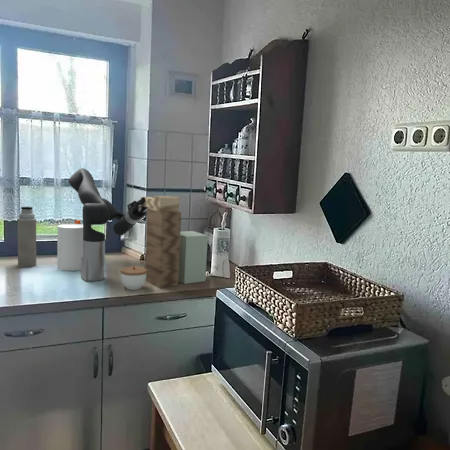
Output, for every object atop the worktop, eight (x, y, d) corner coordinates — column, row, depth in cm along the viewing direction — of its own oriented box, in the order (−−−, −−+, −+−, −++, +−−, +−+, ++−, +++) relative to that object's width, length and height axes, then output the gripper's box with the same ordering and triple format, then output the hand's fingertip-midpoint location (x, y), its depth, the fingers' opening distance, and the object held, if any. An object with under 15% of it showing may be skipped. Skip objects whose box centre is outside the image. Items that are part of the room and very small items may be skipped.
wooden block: (178, 211, 191) (179, 197, 190) (159, 211, 186) (160, 197, 185) (153, 205, 210) (154, 192, 209) (135, 205, 205) (136, 192, 204)
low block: (184, 283, 197) (186, 236, 194) (170, 276, 208) (172, 232, 205) (205, 281, 204) (207, 235, 201) (190, 274, 214) (192, 230, 211)
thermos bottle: (29, 262, 219) (29, 205, 216) (39, 265, 215) (39, 207, 211) (14, 265, 213) (13, 206, 209) (24, 268, 209) (24, 208, 205)
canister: (86, 270, 211) (86, 228, 208) (55, 270, 207) (55, 227, 205) (87, 263, 224) (88, 224, 221) (59, 263, 220) (59, 223, 218)
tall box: (159, 288, 189) (162, 212, 184) (144, 279, 200) (147, 208, 195) (178, 285, 194) (181, 212, 189) (163, 277, 205) (165, 208, 201)
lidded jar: (114, 287, 186) (115, 265, 185) (135, 282, 195) (135, 261, 193) (131, 293, 180) (131, 270, 178) (151, 288, 188) (152, 266, 187)
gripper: (119, 206, 214) (133, 191, 201) (147, 206, 222) (161, 191, 209) (122, 221, 212) (136, 206, 198) (150, 220, 220) (164, 206, 207)
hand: (149, 199), depth 204 cm, fingers open, 4 cm apart
